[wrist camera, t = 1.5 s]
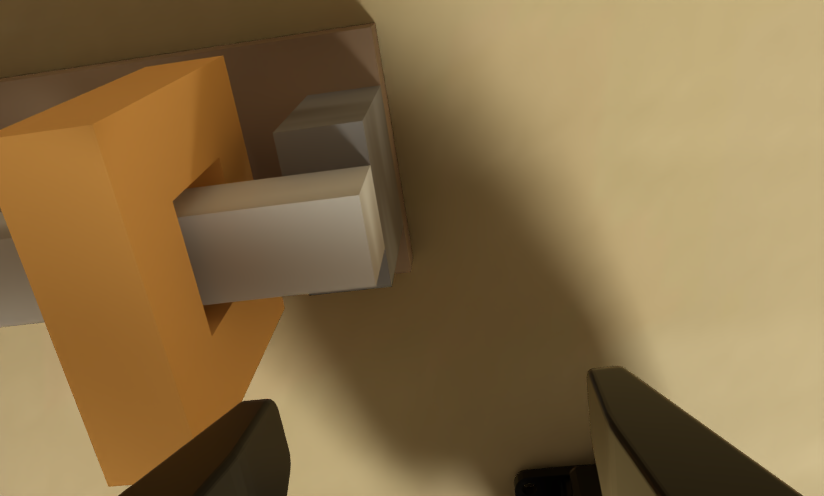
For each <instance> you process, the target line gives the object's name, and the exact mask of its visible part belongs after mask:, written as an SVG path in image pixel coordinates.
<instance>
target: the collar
mask: <svg viewBox="0 0 824 496" xmlns="http://www.w3.org/2000/svg"><path fill="white" fill-rule="evenodd" d="M251 180H254V179H253V175H252V171H251V167H250V163H249V159H248V155H247V150H246V146H245V142H244V138H243V134H242V130H241V126H240V122H239V118H238V113H237V109H236V105H235V101H234V97H233V93H232V89H231V85H230V80H229V76H228V72H227V68H226V64H225V60H224V56H223V55H222V56H216V57H209V58H202V59H195V60H189V61H182V62H175V63H168V64H162V65H155V66H148V67H144V68H142V69H140V70H137V71H135V72H133V73H130V74H128V75H126V76H123V77H121V78H119V79H116V80H114V81H112V82H110V83H107V84H105V85H103V86H100V87H98V88H96V89H93V90H91V91H89V92H86V93H84V94H82V95H80V96H77V97H75V98H73V99H70V100H68V101H66V102H63V103H61V104H59V105H56V106H54V107H52V108H50V109H47V110H45V111H43V112H40V113H38V114H36V115H33V116H31V117H29V118H26V119H24V120H22V121H20V122H17V123H15V124H13V125H10V126H8V127H6V128H3V129H1V130H0V208H1V211H2V213H3V216H4V219H5V221H6V224H7V226H8V229H9V232H10V234H11V237H12V239H13V242H14V244H15V247H16V250H17V252H18V255H19V257H20V260H21V262H22V265H23V268H24V270H25V273H26V275H27V278H28V280H29V283H30V286H31V288H32V291H33V293H34V296H35V298H36V301H37V304H38V306H39V309H40V311H41V314H42V316H43V319H44V322H45V324H46V327H47V329H48V332H49V335H50V337H51V340H52V342H53V345H54V347H55V350H56V353H57V355H58V358H59V360H60V363H61V365H62V368H63V371H64V373H65V376H66V378H67V381H68V383H69V386H70V389H71V391H72V394H73V396H74V399H75V401H76V404H77V407H78V409H79V412H80V414H81V417H82V419H83V422H84V425H85V427H86V430H87V432H88V435H89V438H90V440H91V443H92V445H93V448H94V450H95V453H96V456H97V458H98V461H99V463H100V466H101V468H102V471H103V474H104V476H105V479H106V481H107V484H108V486H109V487H110V486H122V485H133V484H134V483H136V482H137V481H138V480H140V479H141V478H142V477H143V476H145V475H146V474H147V473H149V472H150V471H151V470H153V469H154V468H155V467H156V466H158V465H159V464H160V463H162V462H163V461H164V460H166V459H167V458H168V457H170V456H171V455H172V454H173V453H175V452H176V451H177V450H179V449H180V448H181V447H183V446H184V445H185V444H187V443H188V442H189V441H190V440H192V439H193V438H194V437H196V436H197V435H198V434H200V433H201V432H202V431H204V430H205V429H206V428H207V427H209V426H210V425H211V424H213V423H214V422H215V421H217V420H218V419H219V418H220V417H222V416H223V415H224V414H226V413H227V412H228V411H230V410H231V409H232V408H234V407H235V406H236V405H237V404H239V403H240V402H242V400H243V398H244V395H245V393H246V391H247V389H248V387H249V385H250V382H251V380H252V378H253V376H254V374H255V372H256V369H257V367H258V365H259V363H260V361H261V359H262V356H263V354H264V352H265V350H266V348H267V346H268V343H269V341H270V339H271V337H272V335H273V333H274V330H275V328H276V326H277V324H278V322H279V320H280V317H281V315H282V313H283V311H284V309H285V307H284V303H283V299H282V297H274V298H264V299H255V300H246V301H237V302H228V303H219V304H209V305H203V304H202V301H201V297H200V294H199V290H198V287H197V284H196V280H195V277H194V273H193V270H192V266H191V263H190V259H189V256H188V253H187V249H186V246H185V242H184V239H183V235H182V232H181V228H180V225H179V222H178V218H177V215H176V211H175V208H174V204H173V200H174V199H175V198H176V197H178V196H179V195H180V194H181V193H182V192H183V191H184V190H185V189H188V188H196V187H204V186H211V185H219V184H227V183H235V182H243V181H251Z"/></svg>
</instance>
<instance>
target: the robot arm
mask: <svg viewBox="0 0 824 496" xmlns="http://www.w3.org/2000/svg"><path fill="white" fill-rule="evenodd" d="M587 392H588V407H589V422H590V433H591V440H592V446H593V451H594V456H595V461H596V464H592V465H580V466H567V467H554V468H542V469H529V470H524V471H521V472H519V473H518V474H517V475H516V477H515V479H514V486H515V495H516V496H803V495H801V494H800V493H799V492H797V491H796V490H794V489H793V488H792V487H790V486H789V485H787V484H786V483H785V482H783V481H782V480H780V479H779V478H778V477H776V476H775V475H773V474H772V473H771V472H769V471H768V470H766V469H765V468H764V467H762V466H761V465H759V464H758V463H757V462H755V461H754V460H752V459H751V458H750V457H748V456H747V455H745V454H744V453H743V452H741V451H740V450H738V449H737V448H736V447H734V446H733V445H731V444H730V443H729V442H727V441H726V440H724V439H723V438H722V437H720V436H719V435H717V434H716V433H715V432H713V431H712V430H711V429H709V428H708V427H706V426H705V425H704V424H702V423H701V422H699V421H698V420H697V419H695V418H694V417H692V416H691V415H690V414H688V413H687V412H685V411H684V410H683V409H681V408H680V407H678V406H677V405H676V404H674V403H673V402H671V401H670V400H669V399H667V398H666V397H664V396H663V395H662V394H660V393H659V392H657V391H656V390H655V389H653V388H652V387H650V386H649V385H648V384H646V383H645V382H643V381H642V380H641V379H639V378H638V377H636V376H635V375H634V374H632V373H631V372H629V371H628V370H627V369H625V368H623V367H621V366H613V367H603V368H593V369H590V370H589V371H588V373H587ZM290 466H291V462H290V452H289V448H288V444H287V440H286V437H285V433H284V429H283V425H282V421H281V418H280V414H279V410H278V407H277V405H276V404H275V402H274V401H273V400H271V399H261V400H250V401H243V402H240V403H239V404H237V405H236V406H235V407H234V408H232V409H231V410H230V411H228V412H227V413H226V414H224V415H223V416H222V417H220V418H219V419H218V420H217V421H215V422H214V423H213V424H211V425H210V426H209V427H207V428H206V429H205V430H204V431H202V432H201V433H200V434H198V435H197V436H196V437H194V438H193V439H192V440H190V441H189V442H188V443H187V444H185V445H184V446H183V447H181V448H180V449H179V450H177V451H176V452H175V453H173V454H172V455H171V456H170V457H168V458H167V459H166V460H164V461H163V462H162V463H160V464H159V465H158V466H156V467H155V468H154V469H153V470H151V471H150V472H149V473H147V474H146V475H145V476H143V477H142V478H141V479H140V480H138V481H137V482H136V483H134V484H133V485H132V486H130V487H129V488H128V489H126V490H125V491H124V492H123V493H121V494H120V495H119V496H287V491H288V484H289V477H290ZM528 483H531V484H534V485H533V486H531V487H525V486H524V485H525V484H528Z"/></svg>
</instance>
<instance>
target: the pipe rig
mask: <svg viewBox="0 0 824 496" xmlns="http://www.w3.org/2000/svg"><path fill="white" fill-rule="evenodd" d="M222 55H223V56H224V60H225V64H226V68H227V72H228V76H229V80H230V85H231V89H232V93H233V97H234V101H235V105H236V109H237V113H238V118H239V122H240V126H241V130H242V134H243V138H244V142H245V146H246V150H247V155H248V159H249V163H250V167H251V171H252V175H253V179H254V180H251V181H243V182H235V183H227V184H219V185H211V186H204V187H196V188H188V189H185V190H184V191H183V192H182V193H181V194H180V195H179V196H178V197H176V198H175V199H174V200H173V204H174V208H175V211H176V215H177V218H178V222H179V225H180V228H181V232H182V235H183V239H184V242H185V246H186V249H187V253H188V256H189V259H190V263H191V266H192V270H193V273H194V277H195V280H196V284H197V287H198V290H199V294H200V297H201V301H202V304H203V305H209V304H219V303H228V302H237V301H246V300H255V299H264V298H274V297H283V296H292V295H301V294H309V296H310V295H319V294H328V293H337V292H347V291H356V290H365V289H374V288H383V287H392V283H393V278H394V274H395V273H405V272H411V270H412V262H413V254H412V248H411V242H410V236H409V229H408V223H407V217H406V211H405V205H404V198H403V192H402V186H401V180H400V174H399V168H398V161H397V155H396V149H395V143H394V137H393V130H392V124H391V118H390V112H389V106H388V100H387V93H386V87H385V81H384V75H383V69H382V63H381V56H380V50H379V44H378V38H377V32H376V25H375V23H369V24H362V25H356V26H349V27H342V28H336V29H329V30H322V31H316V32H309V33H302V34H295V35H289V36H282V37H275V38H269V39H262V40H255V41H249V42H242V43H235V44H229V45H222V46H215V47H209V48H202V49H195V50H188V51H182V52H175V53H168V54H162V55H155V56H148V57H142V58H135V59H128V60H122V61H115V62H108V63H102V64H95V65H88V66H82V67H75V68H68V69H61V70H55V71H48V72H41V73H35V74H28V75H21V76H15V77H8V78H1V79H0V130H1V129H3V128H6V127H8V126H10V125H13V124H15V123H17V122H20V121H22V120H24V119H26V118H29V117H31V116H33V115H36V114H38V113H40V112H43V111H45V110H47V109H50V108H52V107H54V106H56V105H59V104H61V103H63V102H66V101H68V100H70V99H73V98H75V97H77V96H80V95H82V94H84V93H86V92H89V91H91V90H93V89H96V88H98V87H100V86H103V85H105V84H107V83H110V82H112V81H114V80H116V79H119V78H121V77H123V76H126V75H128V74H130V73H133V72H135V71H137V70H140V69H142V68H144V67H148V66H155V65H162V64H168V63H175V62H182V61H189V60H195V59H202V58H209V57H216V56H222ZM35 323H44V319H43V316H42V314H41V311H40V309H39V306H38V304H37V301H36V298H35V296H34V293H33V291H32V288H31V286H30V283H29V280H28V278H27V275H26V273H25V270H24V268H23V265H22V262H21V260H20V257H19V255H18V252H17V250H16V247H15V244H14V242H13V239H12V237H11V234H10V232H9V229H8V226H7V224H6V221H5V219H4V216H3V213H2V211H1V208H0V327H7V326H17V325H26V324H35Z"/></svg>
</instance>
